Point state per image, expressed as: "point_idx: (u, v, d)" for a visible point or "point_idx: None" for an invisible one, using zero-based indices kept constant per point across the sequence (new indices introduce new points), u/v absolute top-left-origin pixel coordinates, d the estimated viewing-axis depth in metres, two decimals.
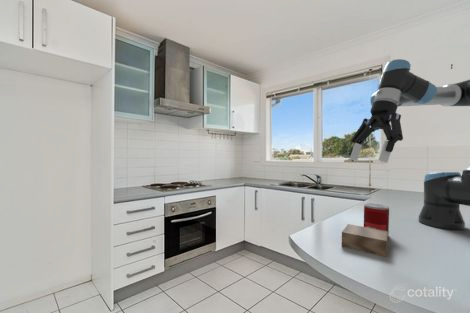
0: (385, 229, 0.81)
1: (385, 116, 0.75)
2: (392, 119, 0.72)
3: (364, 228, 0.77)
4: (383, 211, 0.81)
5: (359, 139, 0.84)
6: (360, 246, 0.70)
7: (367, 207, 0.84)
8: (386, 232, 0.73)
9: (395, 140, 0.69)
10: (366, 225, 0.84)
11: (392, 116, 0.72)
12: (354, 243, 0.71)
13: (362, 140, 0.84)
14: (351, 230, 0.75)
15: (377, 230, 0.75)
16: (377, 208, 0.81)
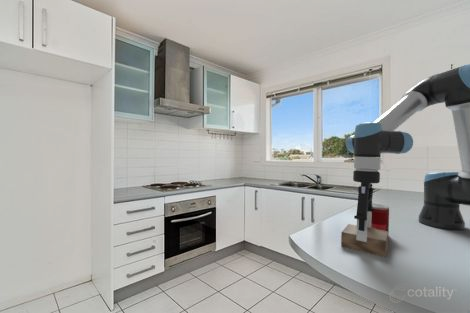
0: (385, 229, 0.81)
1: None
2: (358, 194, 0.69)
3: None
4: (383, 211, 0.81)
5: None
6: (359, 246, 0.70)
7: None
8: (386, 232, 0.73)
9: (361, 219, 0.66)
10: None
11: (359, 191, 0.69)
12: (353, 243, 0.71)
13: (369, 207, 0.78)
14: (351, 230, 0.75)
15: (377, 230, 0.75)
16: (377, 208, 0.81)
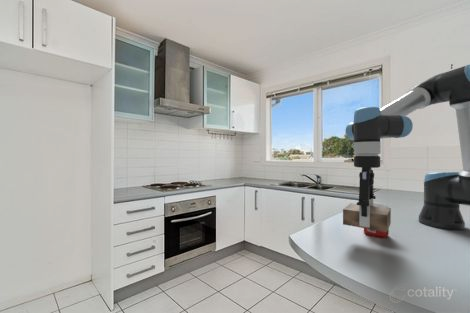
0: None
1: None
2: (360, 180, 0.69)
3: None
4: None
5: None
6: None
7: None
8: (388, 209, 0.73)
9: (364, 205, 0.67)
10: None
11: (360, 177, 0.69)
12: (355, 220, 0.71)
13: (370, 194, 0.78)
14: (352, 207, 0.75)
15: (379, 207, 0.75)
16: None
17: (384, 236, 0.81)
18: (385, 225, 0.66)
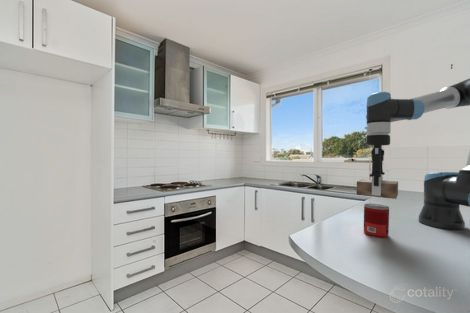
0: (385, 229, 0.81)
1: None
2: (372, 155, 0.80)
3: None
4: (383, 211, 0.81)
5: None
6: None
7: (367, 207, 0.84)
8: (396, 181, 0.83)
9: (376, 176, 0.78)
10: (366, 225, 0.84)
11: (372, 152, 0.80)
12: (368, 190, 0.81)
13: (380, 170, 0.88)
14: None
15: (388, 181, 0.85)
16: (377, 208, 0.81)
17: (384, 236, 0.81)
18: (394, 193, 0.76)
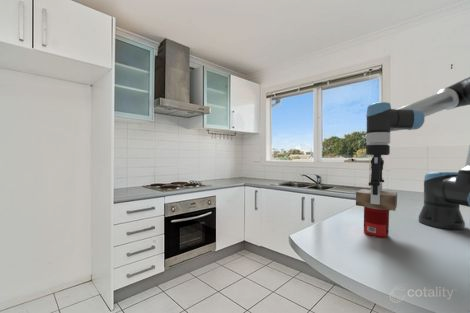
0: (385, 229, 0.81)
1: None
2: (371, 164, 0.80)
3: None
4: (383, 211, 0.81)
5: None
6: None
7: (367, 207, 0.84)
8: (395, 192, 0.84)
9: (375, 184, 0.77)
10: (366, 225, 0.84)
11: (372, 161, 0.80)
12: (367, 201, 0.82)
13: (379, 178, 0.89)
14: (364, 191, 0.86)
15: (387, 192, 0.86)
16: (377, 208, 0.81)
17: (384, 236, 0.81)
18: (393, 205, 0.77)
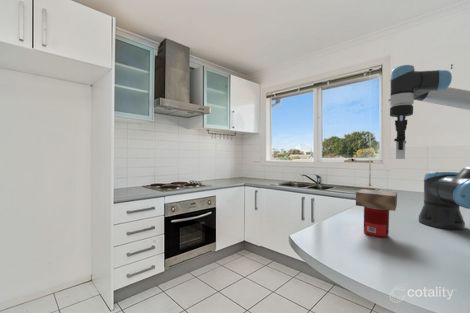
0: (385, 229, 0.81)
1: None
2: (397, 122, 0.85)
3: (376, 191, 0.87)
4: (383, 211, 0.81)
5: None
6: (372, 203, 0.81)
7: (367, 207, 0.84)
8: (395, 192, 0.84)
9: (401, 140, 0.83)
10: (366, 225, 0.84)
11: (397, 119, 0.86)
12: (367, 201, 0.82)
13: None
14: (364, 191, 0.86)
15: (387, 192, 0.86)
16: (377, 208, 0.81)
17: (384, 236, 0.81)
18: (393, 205, 0.77)
